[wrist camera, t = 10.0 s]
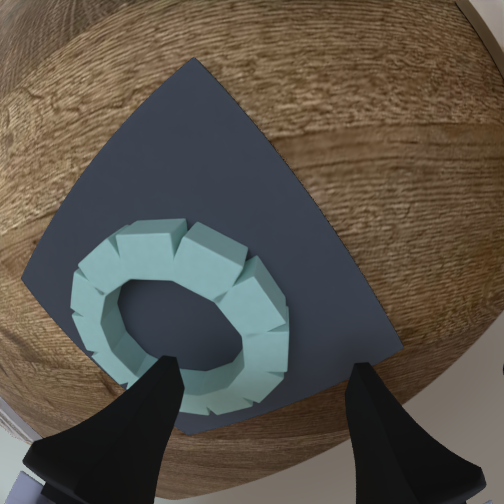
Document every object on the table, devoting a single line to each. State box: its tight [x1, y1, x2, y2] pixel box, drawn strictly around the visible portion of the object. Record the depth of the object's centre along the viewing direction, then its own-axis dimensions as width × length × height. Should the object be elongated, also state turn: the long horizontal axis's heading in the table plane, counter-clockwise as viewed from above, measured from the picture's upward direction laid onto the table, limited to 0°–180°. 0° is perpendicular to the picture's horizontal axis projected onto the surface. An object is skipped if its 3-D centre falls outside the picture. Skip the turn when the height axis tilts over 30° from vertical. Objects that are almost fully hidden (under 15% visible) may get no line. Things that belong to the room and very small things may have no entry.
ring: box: [70, 218, 289, 415], centre depth 13 cm, size 11×11×2 cm
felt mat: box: [21, 57, 404, 435], centre depth 14 cm, size 18×18×1 cm
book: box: [0, 396, 43, 444], centre depth 32 cm, size 23×14×2 cm, turn 119°
